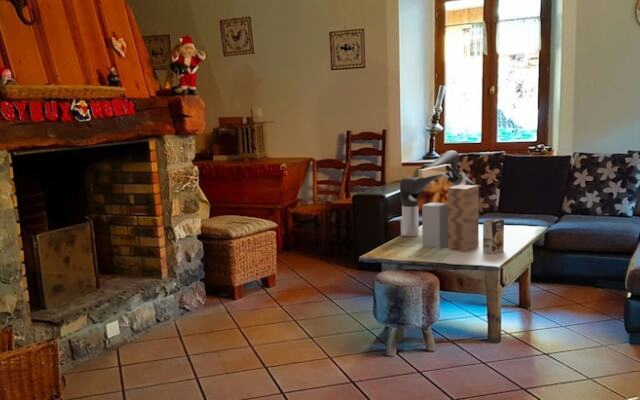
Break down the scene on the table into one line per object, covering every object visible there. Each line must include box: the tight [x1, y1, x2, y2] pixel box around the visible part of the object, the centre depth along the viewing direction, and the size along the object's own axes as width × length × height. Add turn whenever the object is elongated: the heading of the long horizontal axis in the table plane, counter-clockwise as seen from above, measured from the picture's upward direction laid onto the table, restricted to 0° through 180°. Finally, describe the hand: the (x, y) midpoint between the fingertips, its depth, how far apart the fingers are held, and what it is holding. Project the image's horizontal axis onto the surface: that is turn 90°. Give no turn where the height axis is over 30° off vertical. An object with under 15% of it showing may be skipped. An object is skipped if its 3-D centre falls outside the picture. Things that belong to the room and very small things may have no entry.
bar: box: [418, 164, 451, 178], centre depth 319 cm, size 3×28×4 cm, turn 140°
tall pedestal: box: [447, 184, 480, 253], centre depth 314 cm, size 10×14×32 cm
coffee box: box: [482, 218, 505, 255], centre depth 306 cm, size 9×6×16 cm
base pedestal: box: [421, 202, 448, 249], centre depth 323 cm, size 10×10×22 cm
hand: (443, 166), depth 325 cm, fingers closed on bar, 3 cm apart
